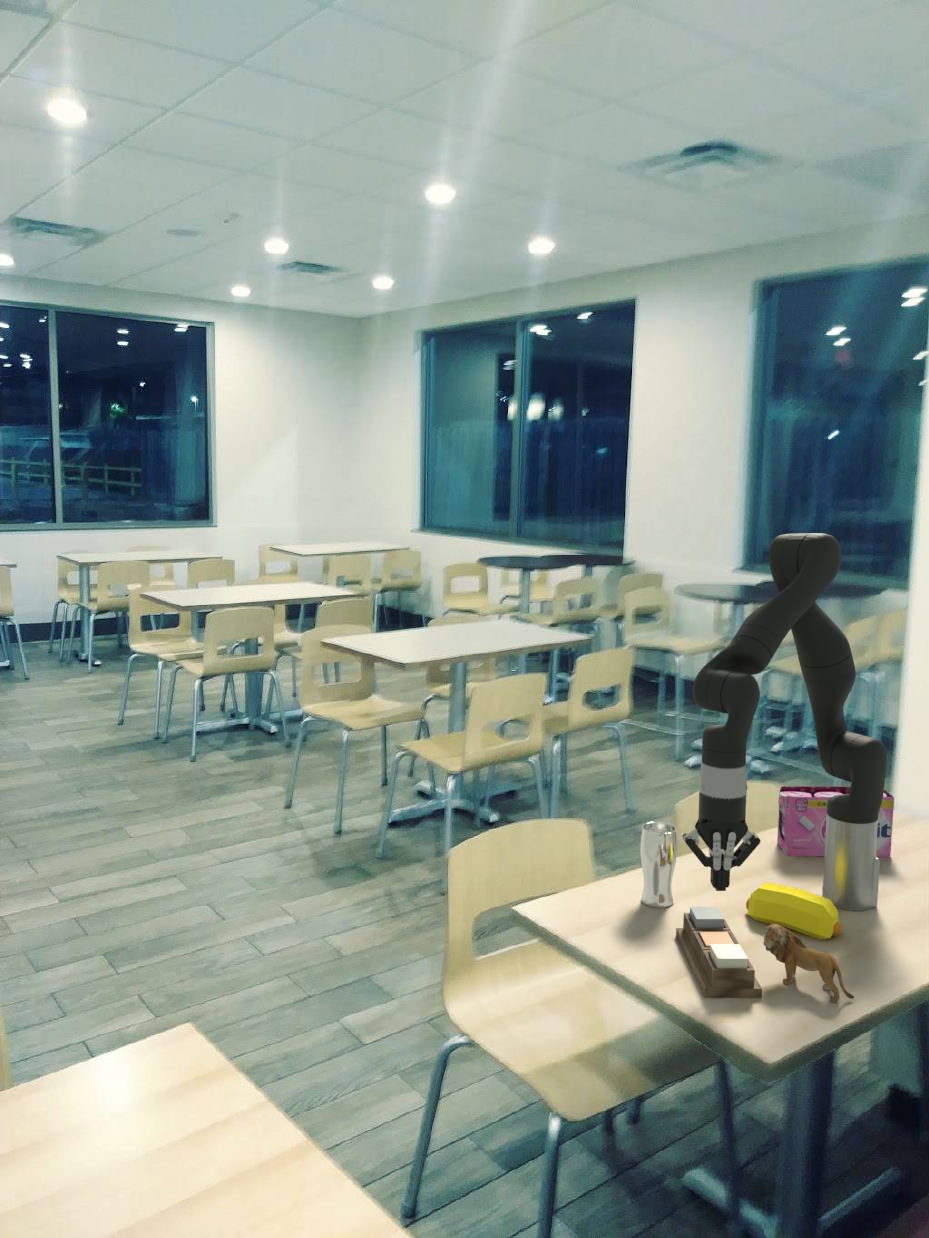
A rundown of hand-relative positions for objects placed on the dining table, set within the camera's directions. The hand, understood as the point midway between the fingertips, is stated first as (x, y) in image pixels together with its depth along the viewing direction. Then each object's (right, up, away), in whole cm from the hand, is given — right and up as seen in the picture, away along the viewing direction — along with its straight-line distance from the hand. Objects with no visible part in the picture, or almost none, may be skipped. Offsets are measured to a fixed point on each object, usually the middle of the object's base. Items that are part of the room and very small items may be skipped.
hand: (719, 888), depth 162 cm
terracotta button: (0, -11, +2) cm, 12 cm away
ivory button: (0, -11, -5) cm, 12 cm away
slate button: (0, -9, +8) cm, 12 cm away
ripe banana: (+18, -12, +17) cm, 27 cm away
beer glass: (-5, -10, +27) cm, 29 cm away
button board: (0, -13, +2) cm, 14 cm away
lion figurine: (+12, -15, -5) cm, 20 cm away
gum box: (+39, -6, +53) cm, 66 cm away
